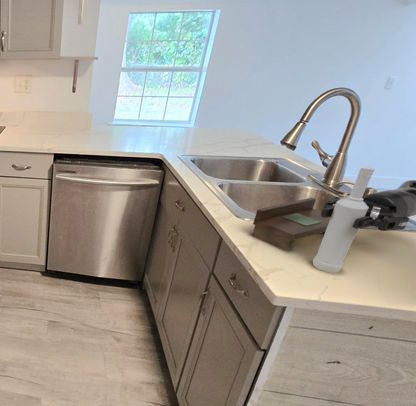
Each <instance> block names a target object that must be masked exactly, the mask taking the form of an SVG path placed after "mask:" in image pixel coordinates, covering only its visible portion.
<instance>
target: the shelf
mask: <svg viewBox="0 0 416 406" xmlns="http://www.w3.org/2000/svg"><path fill="white" fill-rule="evenodd" d="M316 202H317V198H315V197H308V198H307V197H306V198H304V199H299V200H294V201H289V202H285V203H280V204H276V205H272V206H266V207H262V208H257V210H256V213H255V216H254V218H253V223H252V225H253V226H254V227H253V230H252V233H251V237H254V238H256V239H259V240H261V241H263V242H265V243H267V244H270V245H271V246H274V247H277V248H279V249H281V250H283V251H291V250H292V248H293V245H294V242H295V240H298V239H299V240H300V239H302V238H306V237H310V236H313V235H318V234H325V232H326V229H327V226H328V224H329V221H330V218H331V217H327V218H324V217H321V212H322V210H319V209H315V208H314V206H315V204H316Z"/></svg>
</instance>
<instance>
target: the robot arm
mask: <svg viewBox="0 0 416 406" xmlns="http://www.w3.org/2000/svg"><path fill="white" fill-rule="evenodd" d="M362 198H363V199H364V200H363V202H364V203H365V204H366V205H367V206H368V207H369V208H368V210H367V212H366V214H365V216H364V217H361V218H357V219H356V220H355V222H354V224H353V228H356V229H358V230H359V229H365V228H369V229H373V228H374V227H375V228H377V230H379V231H381V232H386V231H388V232H389V231H396V230H398V231H399V230H405V229H406V227H407V225H408V223H409V221H410V217H415V216H416V179H410V180H409V179H408V180H405V181H403V182H402V183H401V184H400V185H399V186H398V187H397V188H396V189H395V188H394V189H388V190H383V191H377V192H373V193H369V194H365V195H363V196H362ZM341 199H342V198H341V197H340V196H333V197H331V198H329V199H327V200H326V201H324V204H323V207H322V210H321V211H322V212H321V217H324V218H327V217H331V216H332V213H333V210H334V207H335V205H336V202H337V201H338V200H341Z"/></svg>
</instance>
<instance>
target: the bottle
mask: <svg viewBox="0 0 416 406" xmlns="http://www.w3.org/2000/svg"><path fill="white" fill-rule="evenodd" d="M374 171H375V168H374V167H369V166H361V167H360V168H359V171H358V173H357V177H356V180H355V182H354V184H353V187H352V189H351V191H350V194H348V195H347V196H346V197H345V198H340V199H341V200H338V201H337V202H336V205H335V207H334V210H333V213H332V216H331V218H330V221H329V224H328V226H327V229H326V232H325V233H323V234H324V235H323V237H322V240H321V243H320V245H319V248H318V250H317V254H316V255H315V256H314V257H313V260H312V265H313V267H315V268H316V269H318V270H320V271H322V272H326V273H330V274H331V273H332V274H337V273H339V272H340V271H342V268H343V267H344V264H343V262H344V260H345V259H346V256H347V254H348V252H349V250H350V248H351V246H352V243H353V241H354V240H355V237H356V235H357V233H358V231H359V229H356V228H353V224H354V222H355V220H356V219H357V218H361V217H364V216H365V214H366V212H367V210H368V208H369V207H368V206H367V205H366V204H365V203H364V202H363V200H364V199H363V198H362V197H363V196H364V194H365V191H366V189H367V187H368V185H369V182H370V180H371V178H372V176H373V174H374Z"/></svg>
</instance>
